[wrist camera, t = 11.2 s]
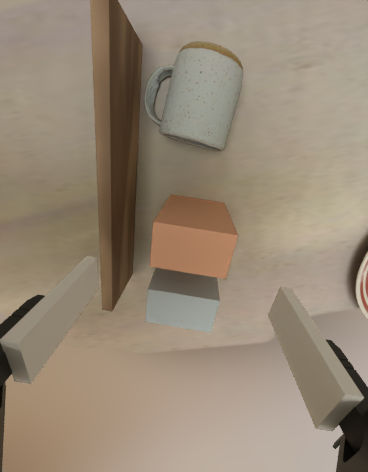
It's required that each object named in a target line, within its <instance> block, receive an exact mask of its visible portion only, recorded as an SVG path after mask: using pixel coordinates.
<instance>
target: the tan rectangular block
mask: <svg viewBox="0 0 368 472" xmlns="http://www.w3.org/2000/svg"><path fill="white" fill-rule="evenodd" d="M237 238H238V234H237V231H236V229H235V227H234V225H233V222H232V220H231V218H230V216H229V213H228V211H227V209H226V206H225V204H224V203H221V202H215V201H209V200H203V199H196V198H190V197H184V196H177V195H170V197H169V198H168V200H167V201H166V203H165V204H164V206H163V208H162V209H161V211H160V212H159V214H158V215H157V217H156V218H155V220H154V222H153V232H152V244H151V257H150V267H155V268H161V269H167V270H174V271H180V272H186V273H192V274H198V275H204V276H210V277H217V278H223V279H226V277H227V273H228V270H229V266H230V263H231V259H232V256H233V252H234V249H235V245H236V242H237Z"/></svg>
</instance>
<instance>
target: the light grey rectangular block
mask: <svg viewBox="0 0 368 472" xmlns="http://www.w3.org/2000/svg"><path fill="white" fill-rule="evenodd" d="M219 302H220V298H219V291H218V283H217V277H210V276H204V275H198V274H192V273H186V272H180V271H174V270H167V269H161V268H156V269H155V272H154V274H153V277H152V280H151V283H150V285H149V288H148V295H147V307H146V319H145V322H150V323H156V324H162V325H168V326H173V327H179V328H185V329H191V330H197V331H203V332H209V333H211V330H212V327H213V323H214V320H215V316H216V313H217V309H218V306H219Z"/></svg>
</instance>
